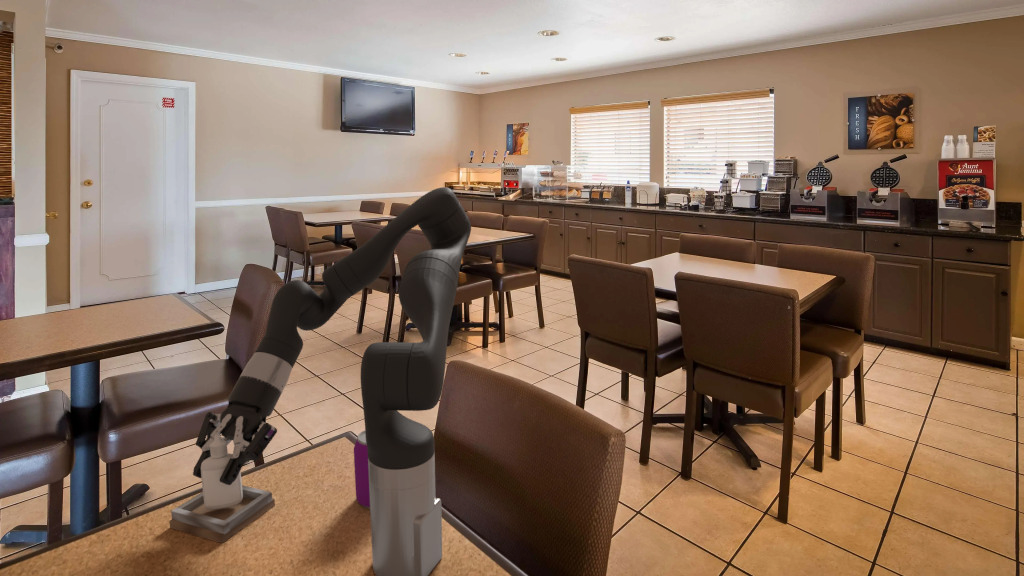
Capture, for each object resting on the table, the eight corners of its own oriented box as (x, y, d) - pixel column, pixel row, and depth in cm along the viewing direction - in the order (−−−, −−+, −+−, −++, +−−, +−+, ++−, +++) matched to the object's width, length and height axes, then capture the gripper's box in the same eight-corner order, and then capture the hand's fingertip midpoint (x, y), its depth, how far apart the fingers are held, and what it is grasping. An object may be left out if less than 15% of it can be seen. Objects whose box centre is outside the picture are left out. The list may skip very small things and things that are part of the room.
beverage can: (386, 482, 104) (383, 421, 102) (409, 499, 99) (407, 435, 96) (348, 498, 99) (344, 434, 97) (370, 517, 94) (367, 450, 91)
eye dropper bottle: (232, 511, 91) (225, 442, 88) (199, 509, 91) (192, 440, 89) (247, 496, 95) (241, 430, 93) (216, 494, 96) (209, 428, 93)
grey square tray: (274, 505, 97) (273, 490, 96) (222, 543, 87) (220, 527, 86) (225, 492, 100) (224, 478, 100) (170, 527, 90) (168, 512, 90)
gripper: (306, 398, 100) (260, 495, 91) (242, 387, 105) (193, 479, 96) (282, 379, 94) (230, 481, 85) (216, 369, 99) (161, 464, 90)
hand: (211, 479), depth 90 cm, fingers closed on eye dropper bottle, 5 cm apart
